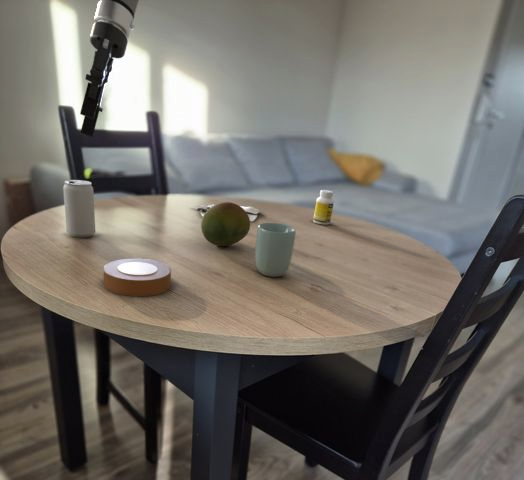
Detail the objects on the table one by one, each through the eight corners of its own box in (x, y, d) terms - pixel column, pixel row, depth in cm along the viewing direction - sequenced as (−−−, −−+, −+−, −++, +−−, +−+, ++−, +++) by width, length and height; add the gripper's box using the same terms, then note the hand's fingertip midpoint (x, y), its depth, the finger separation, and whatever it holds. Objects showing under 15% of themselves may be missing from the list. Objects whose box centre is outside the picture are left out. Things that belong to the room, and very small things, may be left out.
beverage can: (64, 231, 114) (60, 178, 109) (92, 230, 117) (89, 179, 112) (69, 238, 109) (65, 184, 104) (98, 237, 113) (95, 184, 107)
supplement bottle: (327, 226, 149) (332, 193, 145) (310, 222, 151) (315, 190, 146) (332, 223, 154) (337, 191, 149) (316, 219, 155) (321, 188, 151)
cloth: (266, 212, 157) (267, 205, 156) (246, 225, 138) (247, 217, 137) (208, 202, 161) (209, 195, 160) (181, 214, 142) (181, 205, 141)
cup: (295, 279, 102) (302, 232, 97) (261, 280, 99) (267, 232, 94) (280, 267, 108) (285, 222, 103) (247, 268, 105) (252, 222, 100)
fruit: (249, 241, 124) (253, 201, 119) (245, 255, 113) (249, 212, 108) (205, 235, 124) (207, 196, 120) (196, 249, 113) (198, 205, 108)
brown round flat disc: (93, 291, 85) (92, 274, 83) (117, 269, 95) (117, 254, 94) (160, 300, 84) (160, 283, 83) (177, 277, 95) (177, 262, 93)
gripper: (133, 10, 95) (106, 115, 96) (123, 63, 118) (102, 147, 119) (95, -10, 92) (67, 98, 93) (92, 48, 116) (70, 135, 116)
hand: (86, 126), depth 106 cm, fingers open, 13 cm apart
